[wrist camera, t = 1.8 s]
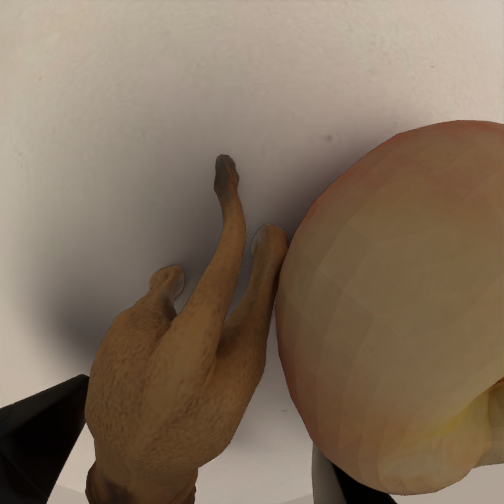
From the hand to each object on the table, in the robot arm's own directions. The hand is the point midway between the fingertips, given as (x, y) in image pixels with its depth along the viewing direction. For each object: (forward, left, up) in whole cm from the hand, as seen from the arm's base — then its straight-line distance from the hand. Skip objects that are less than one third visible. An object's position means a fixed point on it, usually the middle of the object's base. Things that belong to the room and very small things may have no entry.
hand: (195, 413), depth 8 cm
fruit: (+5, -6, -3) cm, 9 cm away
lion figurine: (0, 0, -3) cm, 3 cm away
